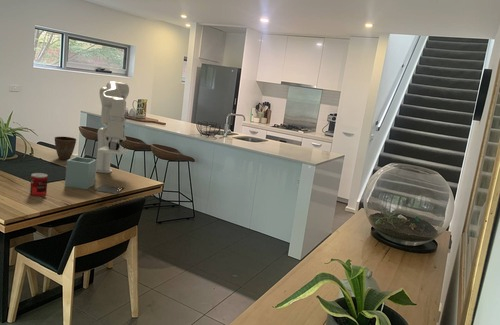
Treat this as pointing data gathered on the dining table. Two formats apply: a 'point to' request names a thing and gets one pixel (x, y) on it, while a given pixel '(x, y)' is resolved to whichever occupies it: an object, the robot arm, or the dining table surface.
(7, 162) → the dining table surface
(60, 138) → the plant pot
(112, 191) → the mat
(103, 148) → the lid
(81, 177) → the tub
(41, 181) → the canned food
